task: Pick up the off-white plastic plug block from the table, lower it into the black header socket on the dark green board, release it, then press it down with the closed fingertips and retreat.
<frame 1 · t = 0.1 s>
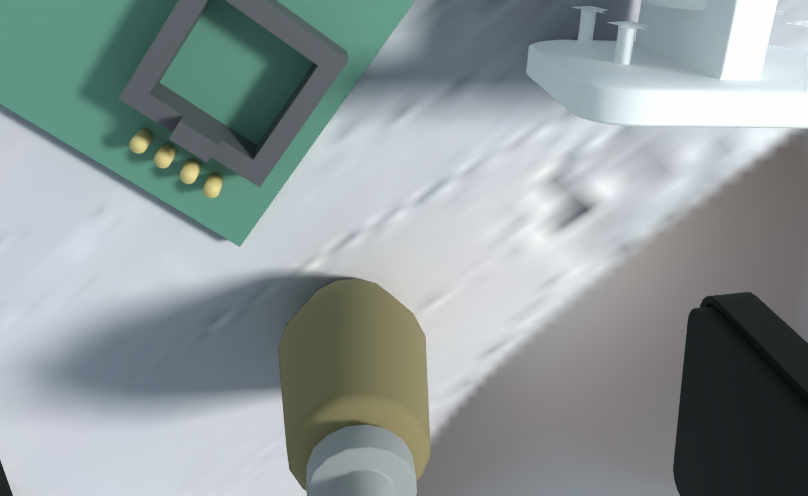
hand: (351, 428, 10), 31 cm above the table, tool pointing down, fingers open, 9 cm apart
squeeze bottle: (350, 319, 45), on the table
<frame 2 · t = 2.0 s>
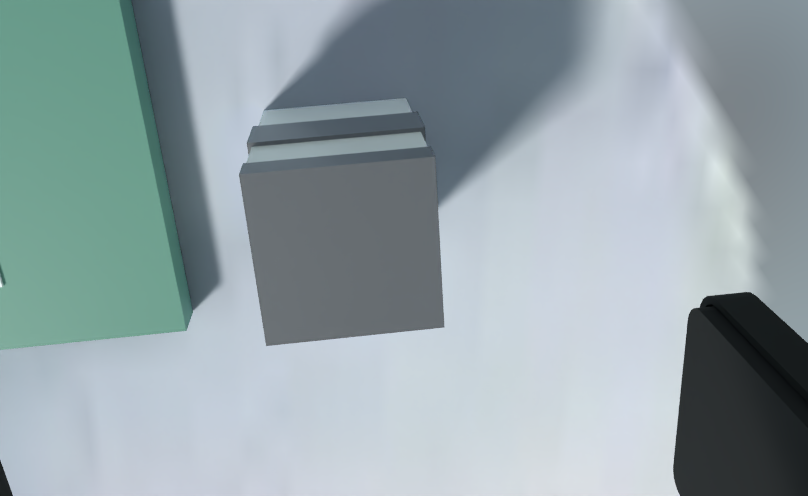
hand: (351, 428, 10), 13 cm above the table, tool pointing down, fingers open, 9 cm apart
plug: (342, 171, 23), on the table
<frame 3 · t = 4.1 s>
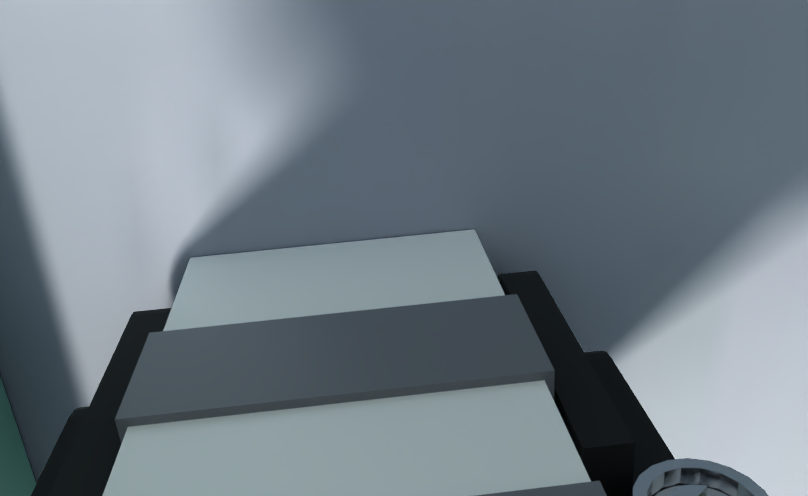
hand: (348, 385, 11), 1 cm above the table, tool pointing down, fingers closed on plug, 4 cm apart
plug: (347, 363, 12), on the table, touching gripper
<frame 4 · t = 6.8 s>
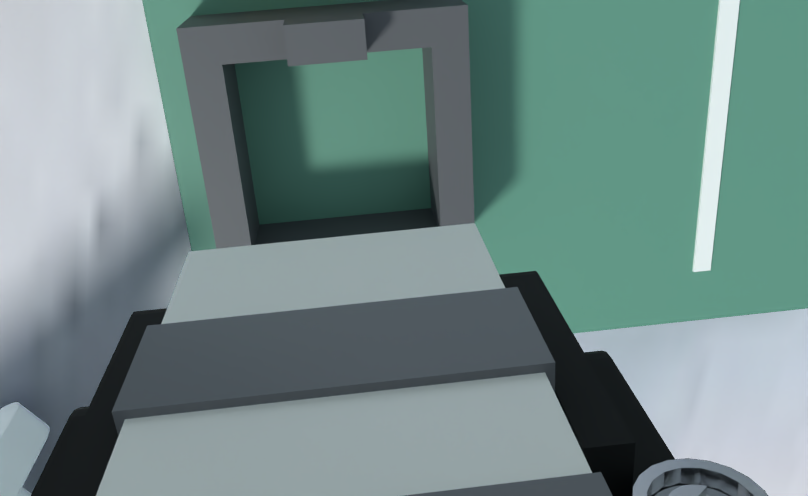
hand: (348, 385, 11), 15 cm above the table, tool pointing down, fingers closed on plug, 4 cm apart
plug: (347, 358, 12), point 14 cm above the table, touching gripper
board: (521, 106, 25), on the table
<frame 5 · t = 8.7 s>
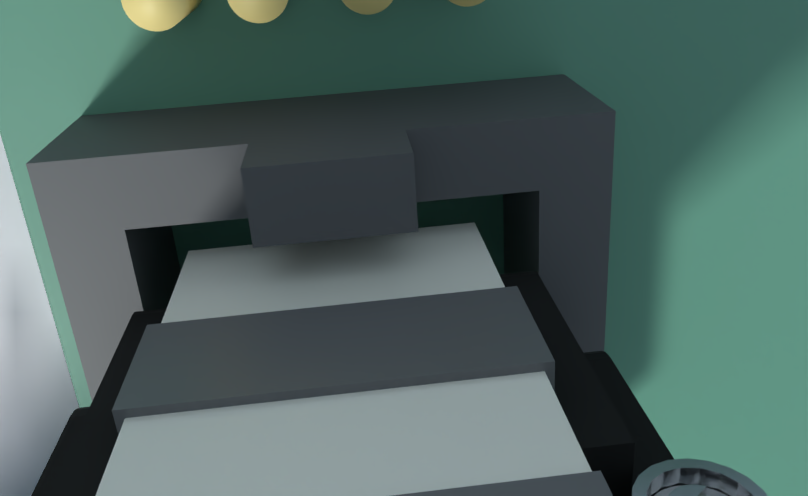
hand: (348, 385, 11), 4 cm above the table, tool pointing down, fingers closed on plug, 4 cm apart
plug: (347, 357, 12), point 3 cm above the table, touching gripper
board: (656, 245, 15), on the table
when the fingers open (4 cm above the table, at t = 9.7 s): plug drops 2 cm, resting on board.
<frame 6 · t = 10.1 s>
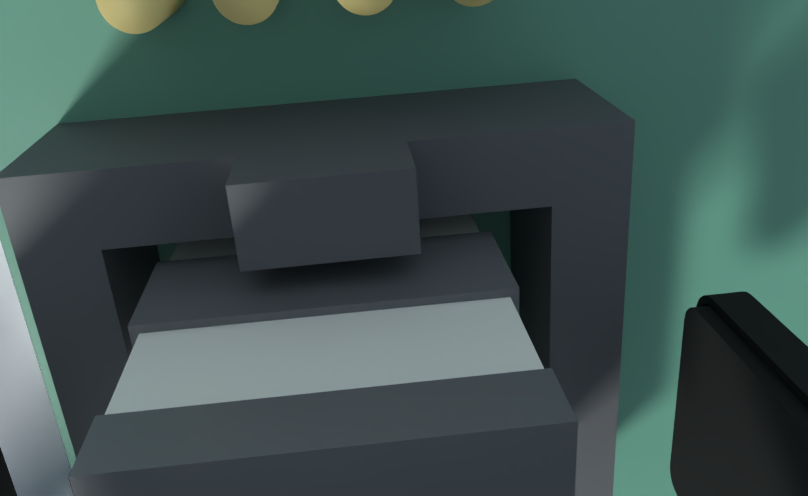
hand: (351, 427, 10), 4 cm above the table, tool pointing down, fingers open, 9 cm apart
plug: (338, 308, 13), point 1 cm above the table, touching board
board: (671, 258, 14), on the table
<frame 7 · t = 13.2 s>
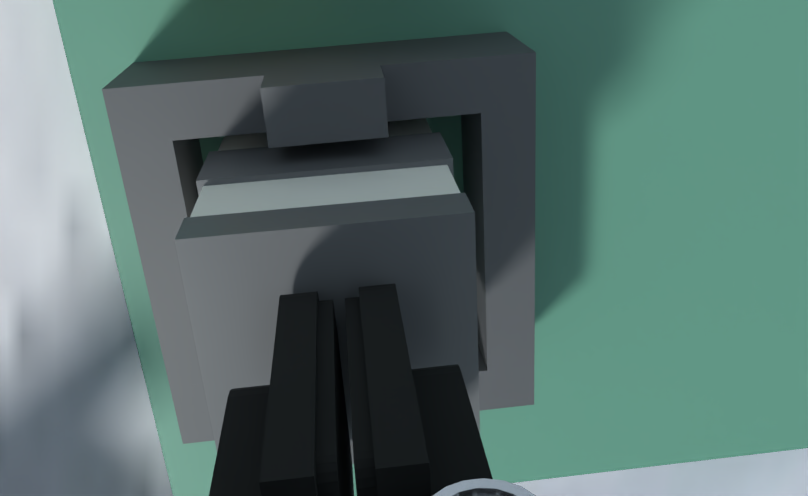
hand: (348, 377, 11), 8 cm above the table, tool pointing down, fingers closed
plug: (335, 206, 17), point 1 cm above the table, touching board
board: (590, 176, 19), on the table
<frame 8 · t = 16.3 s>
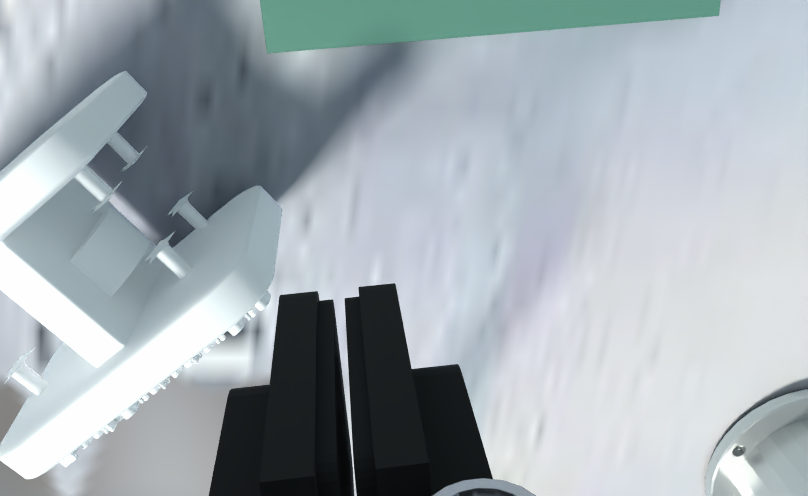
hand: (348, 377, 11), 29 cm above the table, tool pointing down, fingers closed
cable organizer: (118, 216, 41), on the table
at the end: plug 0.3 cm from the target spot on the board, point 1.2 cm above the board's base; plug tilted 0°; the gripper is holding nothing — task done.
